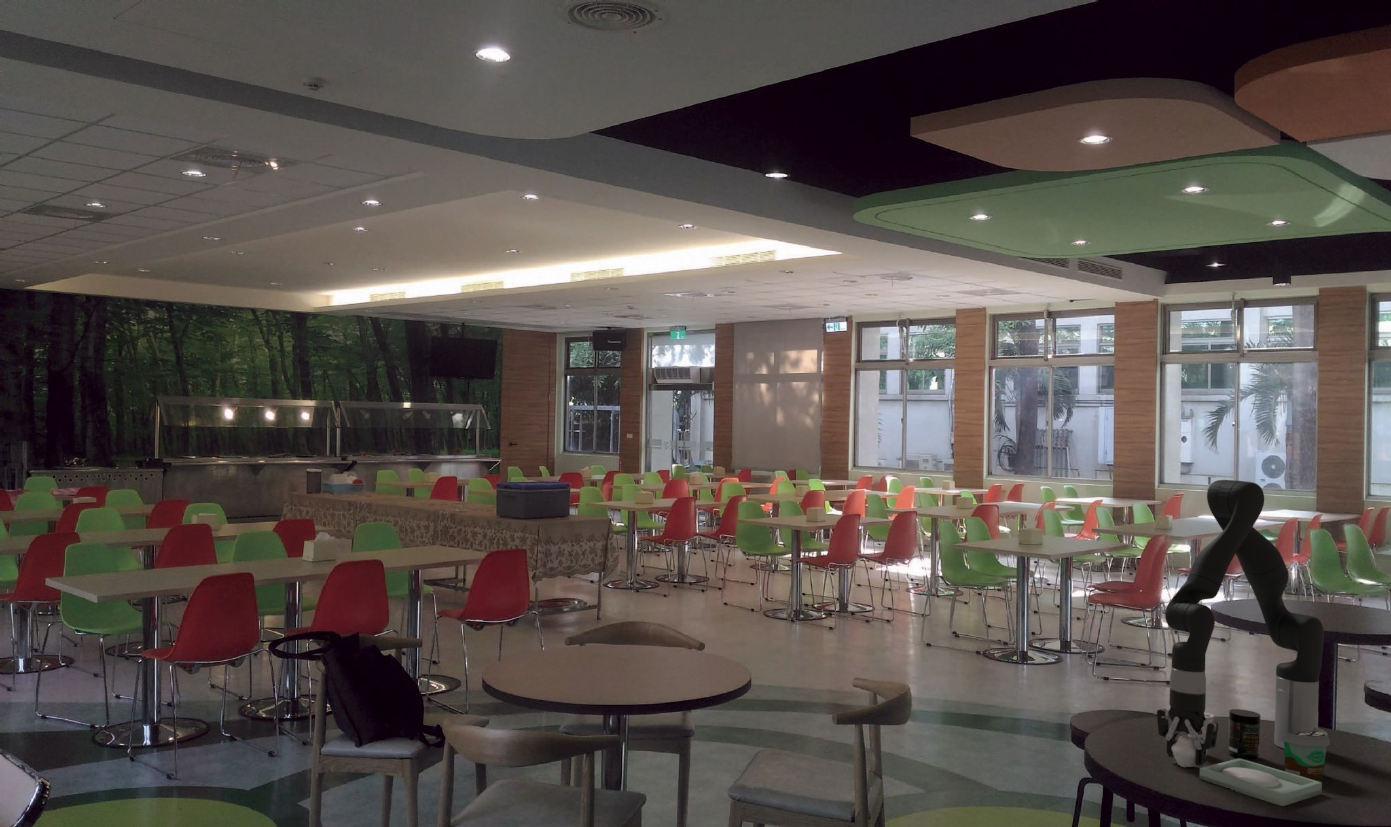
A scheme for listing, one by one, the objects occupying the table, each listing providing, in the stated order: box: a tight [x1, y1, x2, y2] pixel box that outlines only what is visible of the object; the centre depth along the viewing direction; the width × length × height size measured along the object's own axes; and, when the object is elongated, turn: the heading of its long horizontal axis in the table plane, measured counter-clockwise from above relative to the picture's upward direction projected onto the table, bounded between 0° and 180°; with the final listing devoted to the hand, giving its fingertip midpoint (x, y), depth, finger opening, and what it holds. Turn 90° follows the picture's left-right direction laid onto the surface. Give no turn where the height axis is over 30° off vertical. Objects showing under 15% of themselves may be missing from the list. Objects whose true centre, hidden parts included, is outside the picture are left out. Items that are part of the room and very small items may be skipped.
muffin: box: [1172, 734, 1197, 768], centre depth 234 cm, size 6×6×7 cm
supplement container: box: [1227, 708, 1262, 761], centre depth 244 cm, size 7×7×10 cm
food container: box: [1282, 727, 1331, 781], centre depth 230 cm, size 12×6×10 cm, turn 117°
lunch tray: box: [1199, 758, 1323, 807], centre depth 222 cm, size 16×18×2 cm
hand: (1185, 760), depth 234 cm, fingers closed on muffin, 6 cm apart
